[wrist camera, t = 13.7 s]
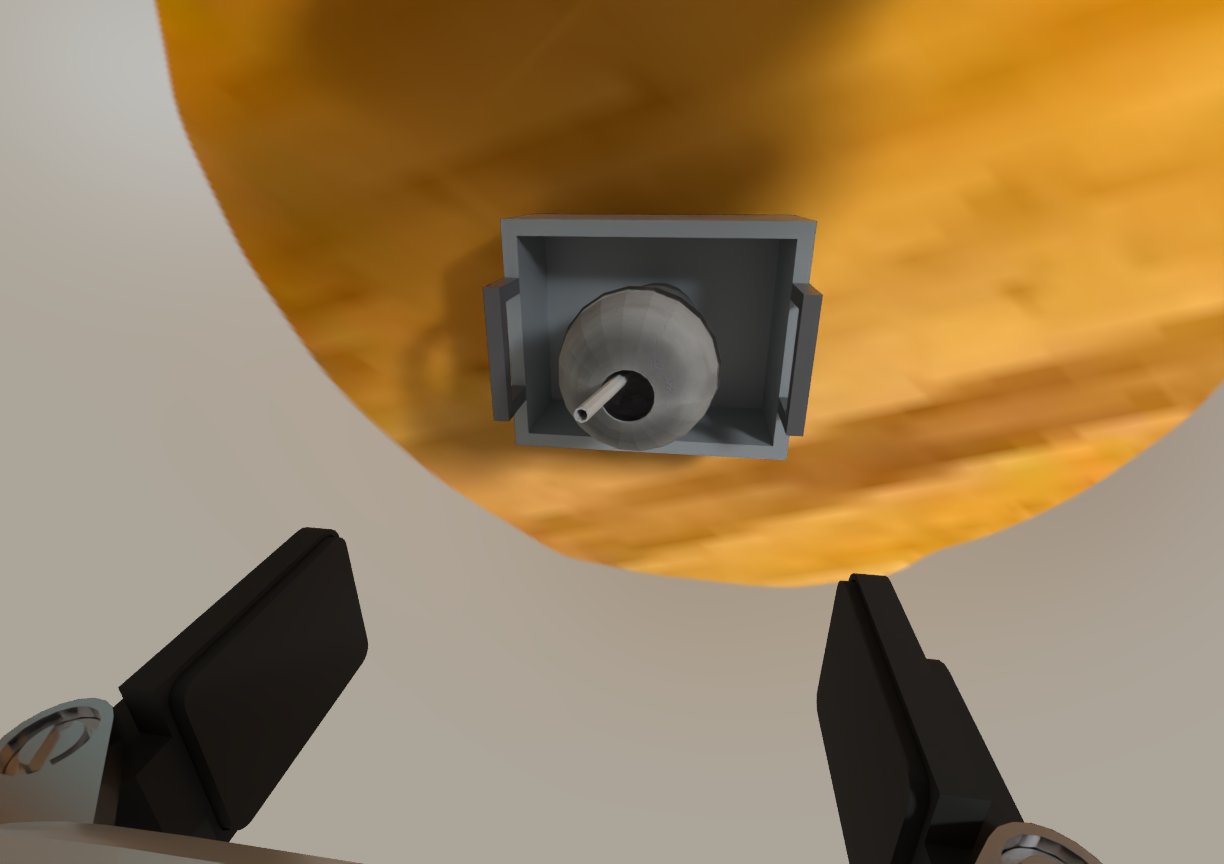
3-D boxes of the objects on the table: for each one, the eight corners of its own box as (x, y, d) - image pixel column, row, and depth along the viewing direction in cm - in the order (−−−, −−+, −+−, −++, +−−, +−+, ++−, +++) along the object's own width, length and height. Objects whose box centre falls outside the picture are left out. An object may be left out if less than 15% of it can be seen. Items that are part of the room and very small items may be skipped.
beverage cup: (654, 397, 38) (604, 580, 20) (578, 314, 37) (450, 429, 19) (742, 324, 36) (777, 458, 17) (664, 232, 34) (612, 272, 16)
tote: (794, 215, 34) (832, 225, 25) (771, 415, 39) (795, 488, 29) (535, 213, 36) (477, 222, 26) (544, 404, 41) (498, 470, 31)
